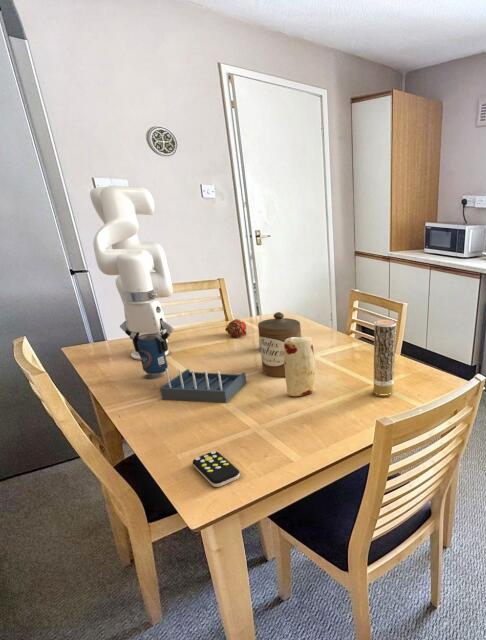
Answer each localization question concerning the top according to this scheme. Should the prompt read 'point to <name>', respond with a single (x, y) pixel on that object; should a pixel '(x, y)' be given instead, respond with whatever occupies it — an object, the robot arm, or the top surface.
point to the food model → (299, 365)
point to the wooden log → (384, 357)
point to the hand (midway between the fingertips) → (151, 350)
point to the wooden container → (276, 342)
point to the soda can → (151, 354)
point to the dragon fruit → (236, 328)
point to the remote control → (216, 469)
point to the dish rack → (202, 386)
